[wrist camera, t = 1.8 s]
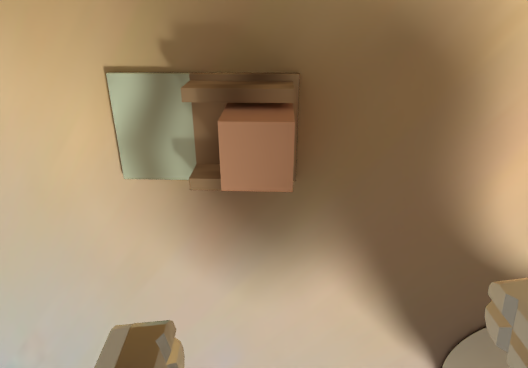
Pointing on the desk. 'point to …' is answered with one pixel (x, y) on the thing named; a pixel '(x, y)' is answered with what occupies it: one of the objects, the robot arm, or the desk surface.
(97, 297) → the desk surface
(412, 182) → the desk surface
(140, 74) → the chute
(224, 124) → the block
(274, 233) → the desk surface
